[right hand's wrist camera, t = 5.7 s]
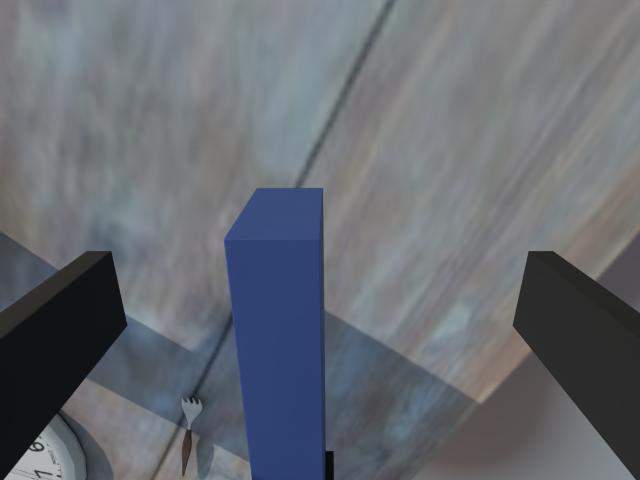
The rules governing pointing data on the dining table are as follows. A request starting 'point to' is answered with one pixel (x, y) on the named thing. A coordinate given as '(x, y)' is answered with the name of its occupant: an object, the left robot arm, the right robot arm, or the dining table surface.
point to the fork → (189, 428)
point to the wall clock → (52, 456)
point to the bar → (280, 330)
